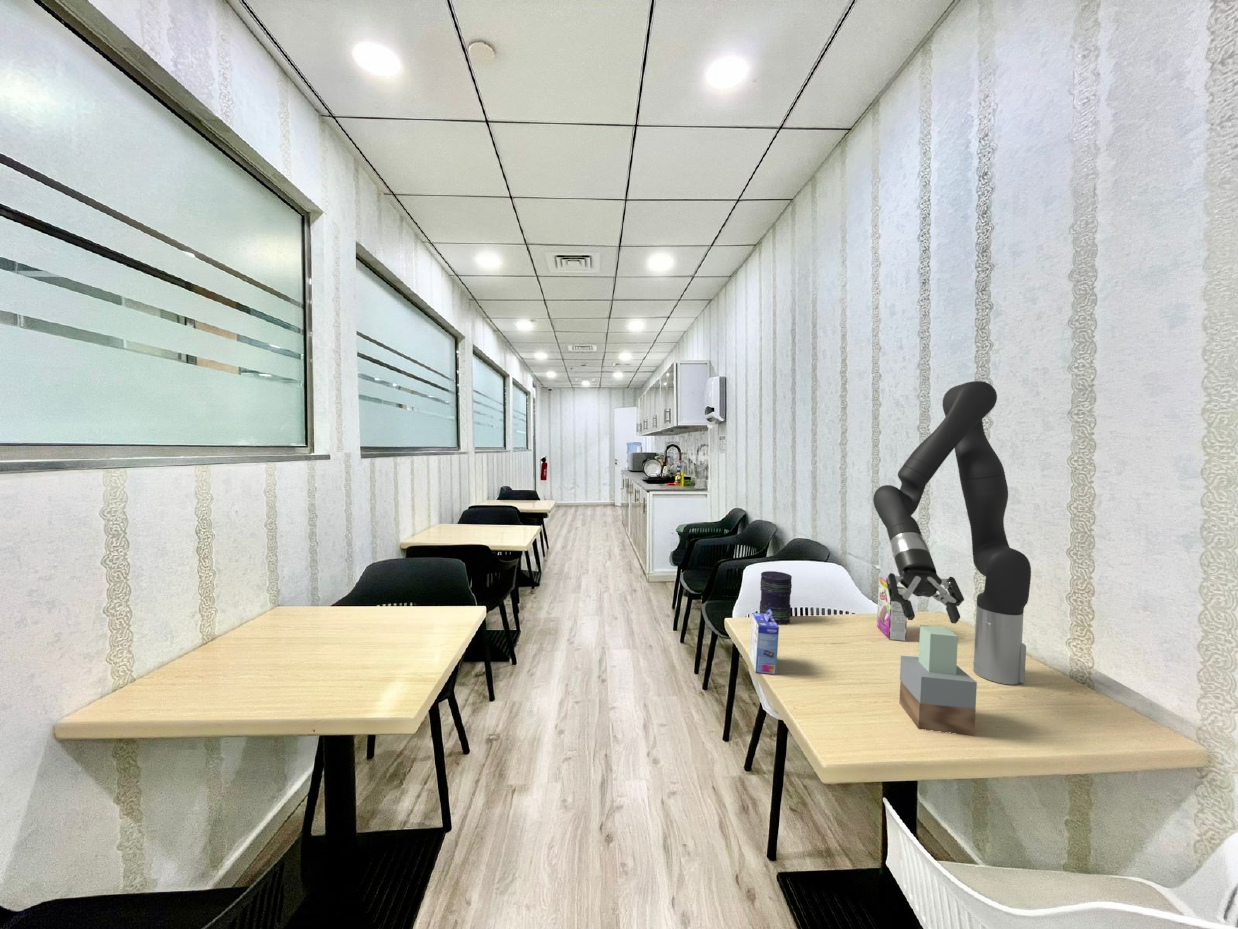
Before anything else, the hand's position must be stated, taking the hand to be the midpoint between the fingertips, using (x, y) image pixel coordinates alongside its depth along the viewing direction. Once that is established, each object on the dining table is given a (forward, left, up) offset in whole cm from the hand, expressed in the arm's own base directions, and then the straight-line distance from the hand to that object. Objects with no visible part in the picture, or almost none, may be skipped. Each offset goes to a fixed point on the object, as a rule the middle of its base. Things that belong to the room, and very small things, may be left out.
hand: (933, 620), depth 101 cm
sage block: (0, +3, -9) cm, 10 cm away
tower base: (0, +3, -20) cm, 20 cm away
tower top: (0, +3, -15) cm, 15 cm away
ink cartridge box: (+33, -14, -20) cm, 41 cm away
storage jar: (+25, -50, -20) cm, 60 cm away
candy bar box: (-9, -46, -20) cm, 51 cm away
